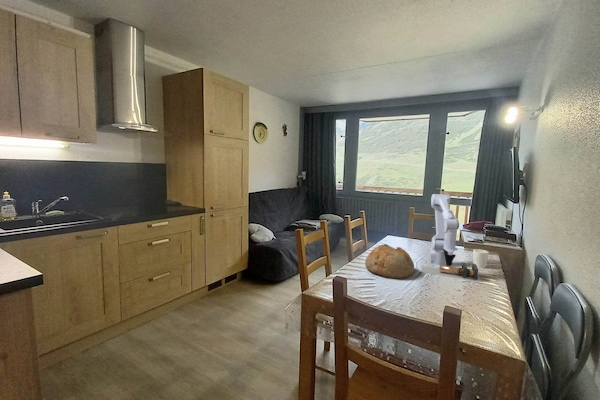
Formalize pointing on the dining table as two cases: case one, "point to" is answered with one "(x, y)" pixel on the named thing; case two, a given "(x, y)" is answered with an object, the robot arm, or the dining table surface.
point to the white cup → (480, 258)
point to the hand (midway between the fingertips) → (448, 263)
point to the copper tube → (456, 270)
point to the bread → (390, 262)
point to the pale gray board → (437, 272)
